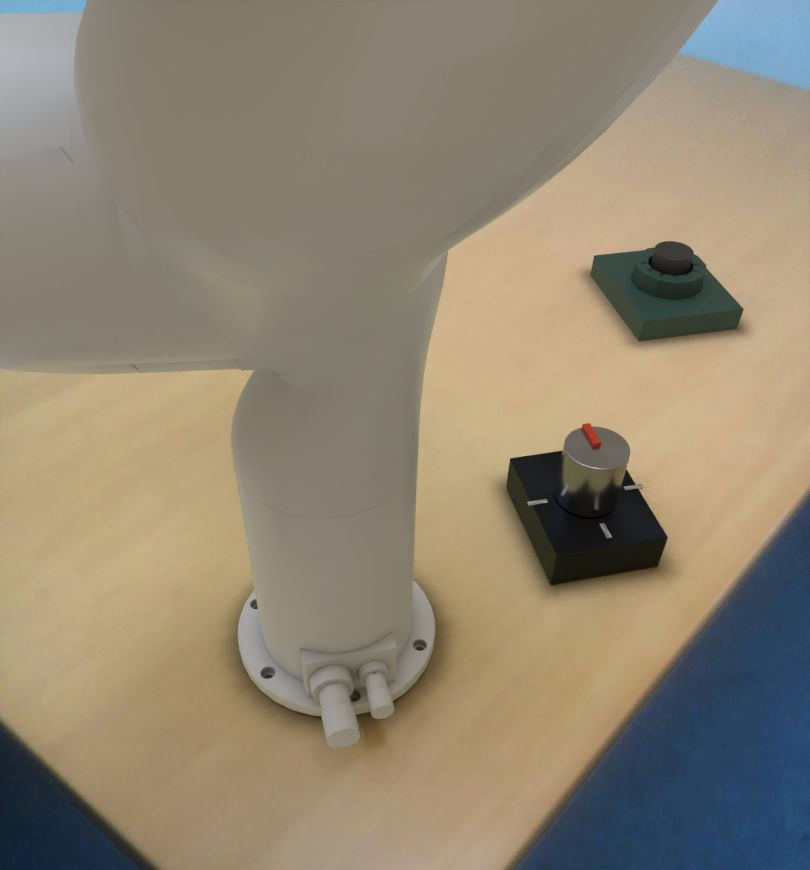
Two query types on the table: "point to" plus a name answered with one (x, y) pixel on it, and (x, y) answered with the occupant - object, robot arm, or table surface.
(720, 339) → the table surface
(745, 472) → the table surface
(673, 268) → the button
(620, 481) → the knob
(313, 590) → the robot arm
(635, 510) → the panel
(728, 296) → the housing
